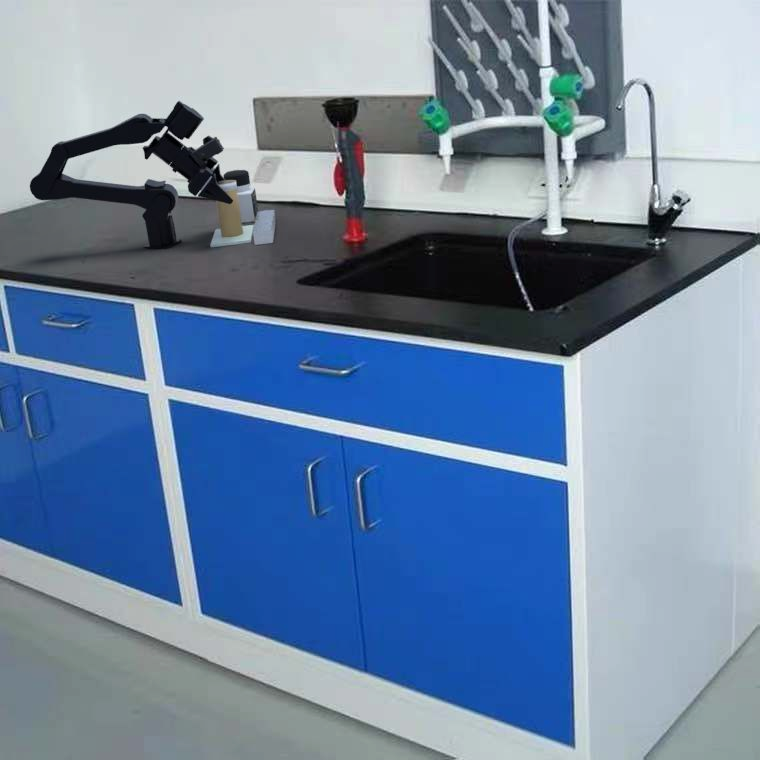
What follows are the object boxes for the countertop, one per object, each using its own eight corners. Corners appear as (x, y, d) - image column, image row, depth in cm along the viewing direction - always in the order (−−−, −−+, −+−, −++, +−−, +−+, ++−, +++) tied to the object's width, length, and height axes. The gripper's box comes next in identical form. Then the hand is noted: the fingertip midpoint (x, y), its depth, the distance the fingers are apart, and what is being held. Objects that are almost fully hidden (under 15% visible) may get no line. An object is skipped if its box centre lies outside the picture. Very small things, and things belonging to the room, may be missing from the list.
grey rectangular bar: (272, 242, 279) (271, 229, 278) (254, 245, 278) (252, 231, 277) (276, 219, 302) (274, 207, 301) (259, 221, 302) (257, 209, 301)
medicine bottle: (255, 221, 302) (248, 172, 298) (226, 224, 303) (218, 175, 299) (259, 215, 309) (252, 166, 305) (230, 218, 309) (222, 169, 306)
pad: (210, 247, 281) (210, 244, 281) (216, 231, 296) (215, 229, 296) (250, 242, 281) (250, 239, 281) (254, 227, 296) (253, 224, 296)
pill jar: (236, 237, 285) (228, 184, 281) (216, 237, 288) (208, 185, 284) (247, 231, 290) (240, 179, 286) (228, 231, 292) (220, 180, 288)
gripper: (194, 132, 272) (253, 177, 275) (201, 121, 289) (256, 163, 293) (164, 173, 274) (222, 217, 278) (173, 159, 292) (227, 201, 295)
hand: (233, 198), depth 286 cm, fingers open, 9 cm apart
